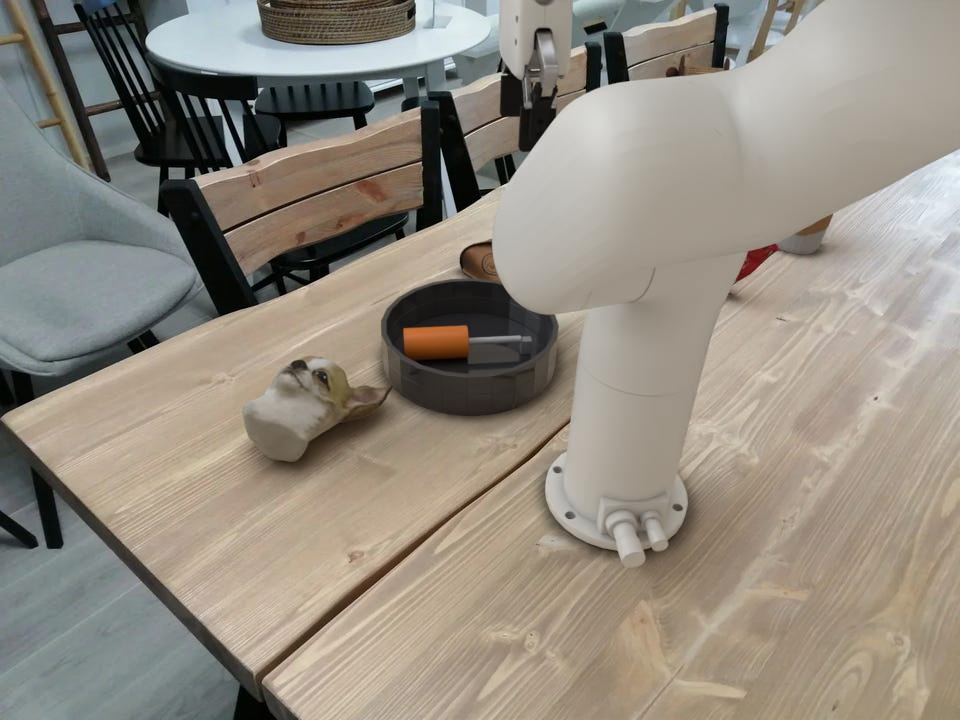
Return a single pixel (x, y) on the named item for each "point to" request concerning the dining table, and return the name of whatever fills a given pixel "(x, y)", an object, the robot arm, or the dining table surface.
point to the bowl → (489, 368)
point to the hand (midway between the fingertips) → (524, 132)
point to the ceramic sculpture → (306, 406)
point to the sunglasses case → (479, 261)
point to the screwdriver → (451, 342)
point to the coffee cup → (806, 238)
